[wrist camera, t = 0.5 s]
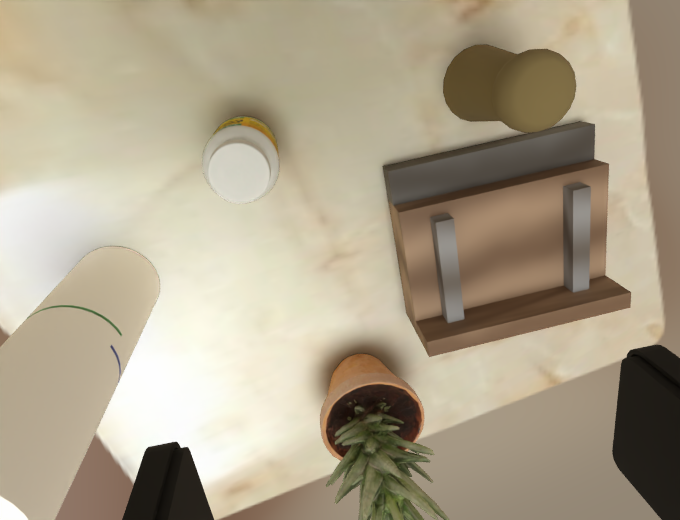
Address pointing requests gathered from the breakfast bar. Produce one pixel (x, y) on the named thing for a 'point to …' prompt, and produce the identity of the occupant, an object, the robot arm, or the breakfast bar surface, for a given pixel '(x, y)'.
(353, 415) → the potted plant
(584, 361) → the breakfast bar surface
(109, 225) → the breakfast bar surface
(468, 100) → the olive rounded upright piece
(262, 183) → the supplement bottle
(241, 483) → the breakfast bar surface
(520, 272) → the loading dock
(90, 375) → the cylindrical container
